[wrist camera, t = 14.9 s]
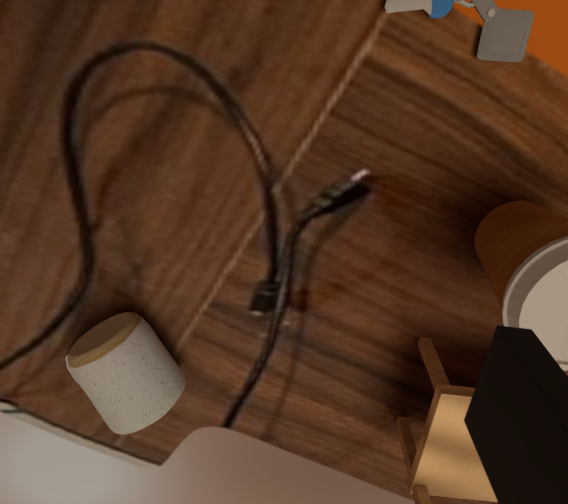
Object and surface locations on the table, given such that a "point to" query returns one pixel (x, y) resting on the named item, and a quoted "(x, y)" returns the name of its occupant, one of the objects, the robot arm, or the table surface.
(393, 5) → the key chain
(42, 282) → the table surface
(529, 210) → the disposable coffee cup
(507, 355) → the robot arm
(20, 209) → the table surface
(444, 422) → the chair
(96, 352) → the ceramic mug
